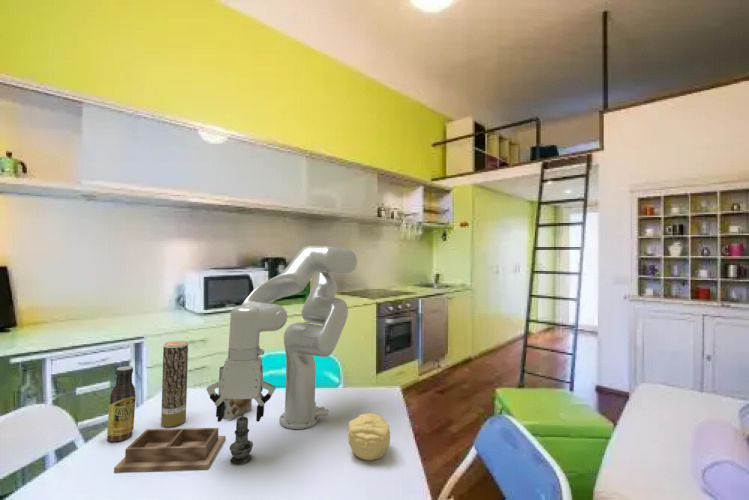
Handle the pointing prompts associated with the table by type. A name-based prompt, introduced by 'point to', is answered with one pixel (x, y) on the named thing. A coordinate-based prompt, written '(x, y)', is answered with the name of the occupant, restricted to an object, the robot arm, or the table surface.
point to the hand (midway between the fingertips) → (239, 419)
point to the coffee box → (234, 404)
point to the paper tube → (174, 383)
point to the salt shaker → (241, 443)
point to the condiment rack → (172, 450)
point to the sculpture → (369, 436)
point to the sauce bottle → (122, 406)
